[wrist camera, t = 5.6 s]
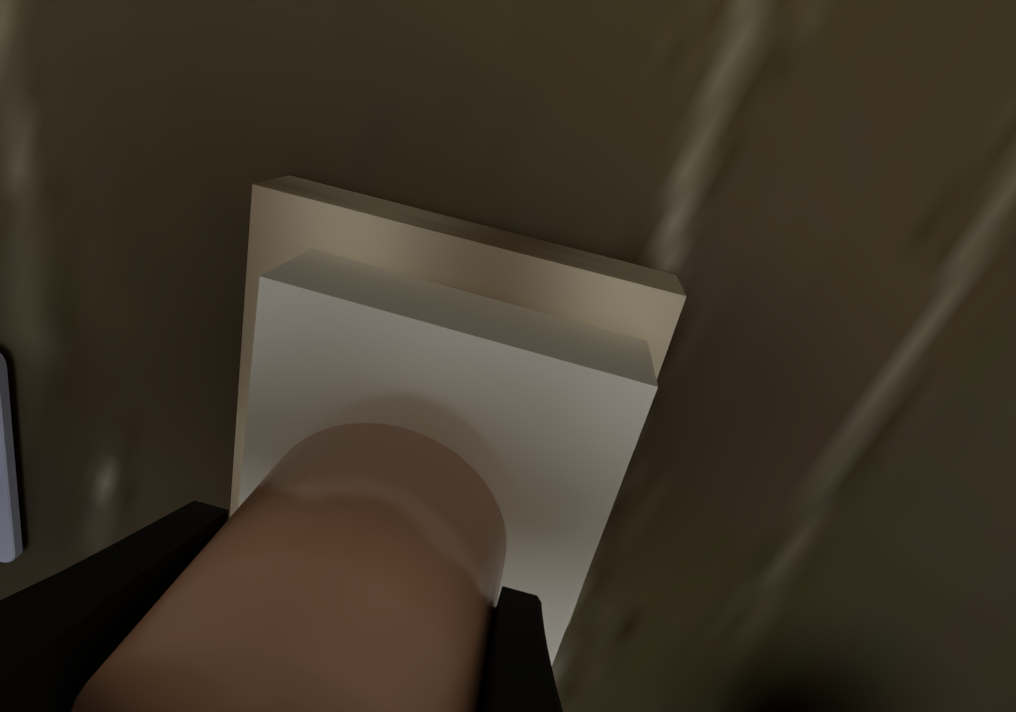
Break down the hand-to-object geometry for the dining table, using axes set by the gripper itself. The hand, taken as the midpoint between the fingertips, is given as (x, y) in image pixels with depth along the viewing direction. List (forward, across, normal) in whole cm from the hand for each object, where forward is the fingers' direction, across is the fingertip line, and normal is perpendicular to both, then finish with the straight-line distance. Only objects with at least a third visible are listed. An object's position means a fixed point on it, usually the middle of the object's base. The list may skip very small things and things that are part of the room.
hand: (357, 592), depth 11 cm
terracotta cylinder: (+1, 0, 0) cm, 1 cm away
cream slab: (+6, 0, 0) cm, 6 cm away
